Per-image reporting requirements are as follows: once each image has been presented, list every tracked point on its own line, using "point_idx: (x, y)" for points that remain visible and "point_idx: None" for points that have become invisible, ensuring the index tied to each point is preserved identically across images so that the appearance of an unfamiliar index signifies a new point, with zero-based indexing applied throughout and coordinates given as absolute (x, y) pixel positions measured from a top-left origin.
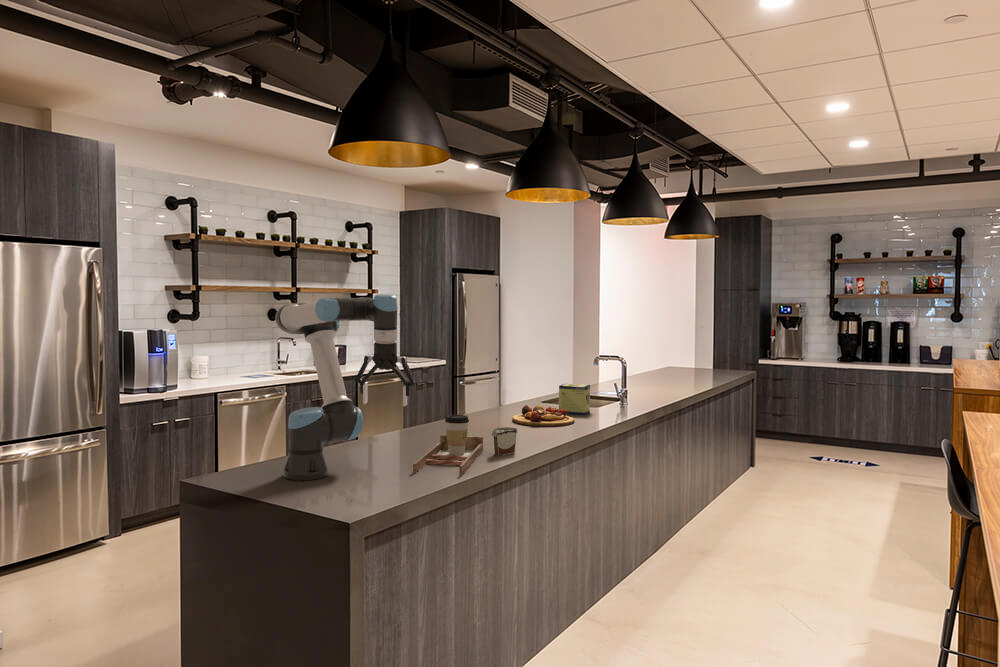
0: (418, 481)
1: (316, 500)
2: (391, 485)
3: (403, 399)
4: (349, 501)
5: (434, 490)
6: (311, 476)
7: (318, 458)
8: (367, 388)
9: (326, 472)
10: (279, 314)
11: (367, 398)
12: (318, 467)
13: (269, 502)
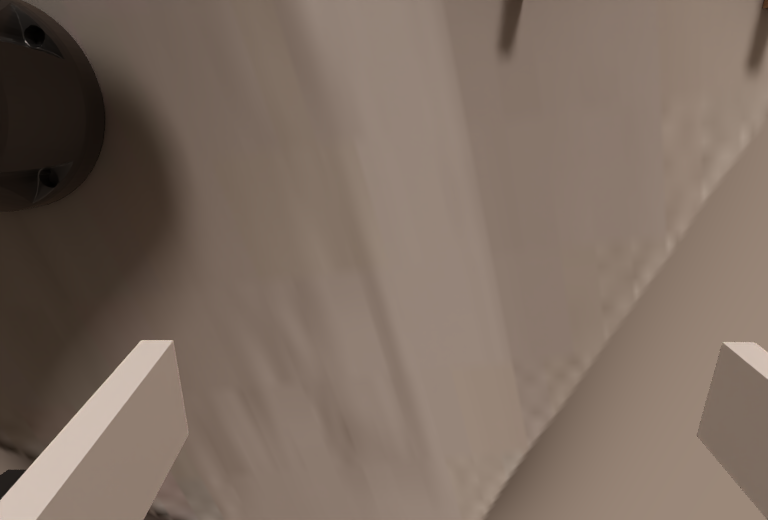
0: (558, 145)
1: (225, 443)
2: (447, 226)
3: (764, 510)
4: (344, 443)
5: (643, 279)
6: (63, 193)
7: (16, 146)
8: (51, 513)
9: (94, 111)
10: None
11: (151, 380)
12: (56, 161)
13: None
